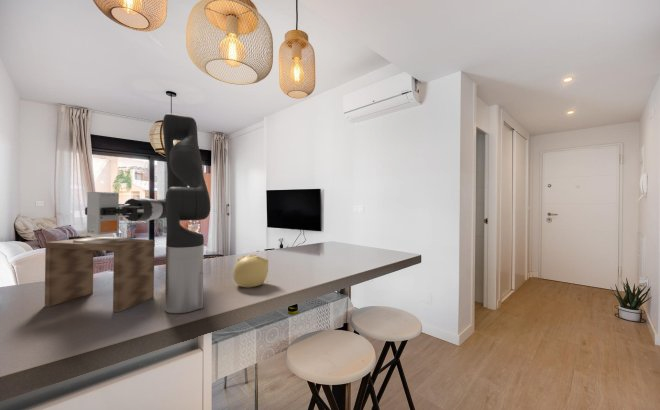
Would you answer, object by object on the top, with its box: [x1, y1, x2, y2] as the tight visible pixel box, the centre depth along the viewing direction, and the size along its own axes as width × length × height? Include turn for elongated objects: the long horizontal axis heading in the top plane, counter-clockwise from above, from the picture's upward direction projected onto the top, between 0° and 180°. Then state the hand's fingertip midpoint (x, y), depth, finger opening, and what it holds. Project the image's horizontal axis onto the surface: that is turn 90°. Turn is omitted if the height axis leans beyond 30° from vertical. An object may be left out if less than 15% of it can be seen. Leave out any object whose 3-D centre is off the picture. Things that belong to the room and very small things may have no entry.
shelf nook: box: [44, 236, 155, 313], centre depth 80 cm, size 12×23×18 cm, turn 81°
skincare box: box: [86, 191, 120, 236], centre depth 80 cm, size 6×4×12 cm
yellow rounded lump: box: [232, 254, 269, 288], centre depth 98 cm, size 11×12×11 cm
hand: (94, 211), depth 77 cm, fingers closed on skincare box, 4 cm apart
